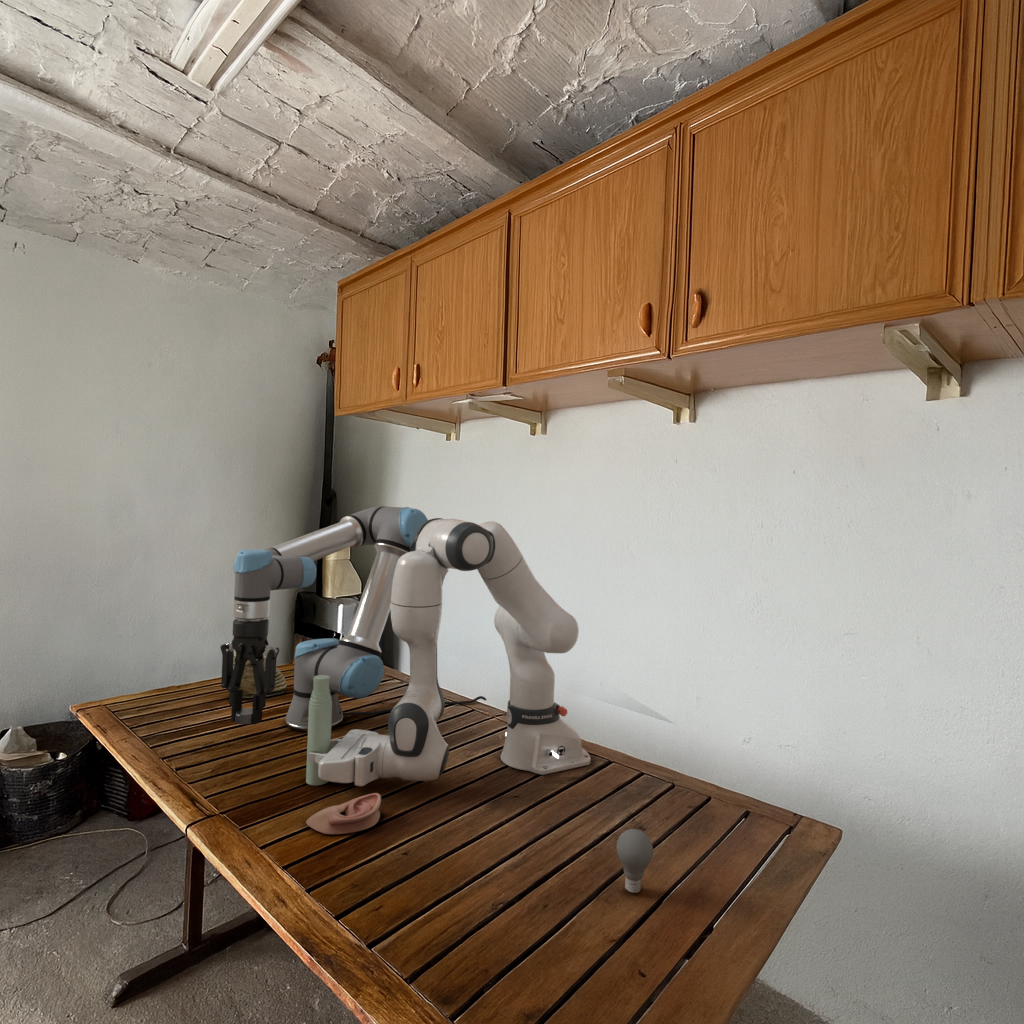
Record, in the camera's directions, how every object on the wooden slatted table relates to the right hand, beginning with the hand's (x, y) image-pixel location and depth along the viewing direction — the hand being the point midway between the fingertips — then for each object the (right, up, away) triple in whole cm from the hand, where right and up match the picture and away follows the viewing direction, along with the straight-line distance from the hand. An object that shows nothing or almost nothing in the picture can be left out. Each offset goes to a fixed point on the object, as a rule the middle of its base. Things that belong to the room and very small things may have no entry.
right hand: (314, 750), depth 141 cm
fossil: (-37, -4, +57) cm, 68 cm away
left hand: (-16, +6, +2) cm, 17 cm away
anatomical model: (+11, -8, -17) cm, 22 cm away
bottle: (+1, -7, 0) cm, 7 cm away
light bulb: (+64, -10, -35) cm, 74 cm away
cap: (-16, +8, +2) cm, 18 cm away
